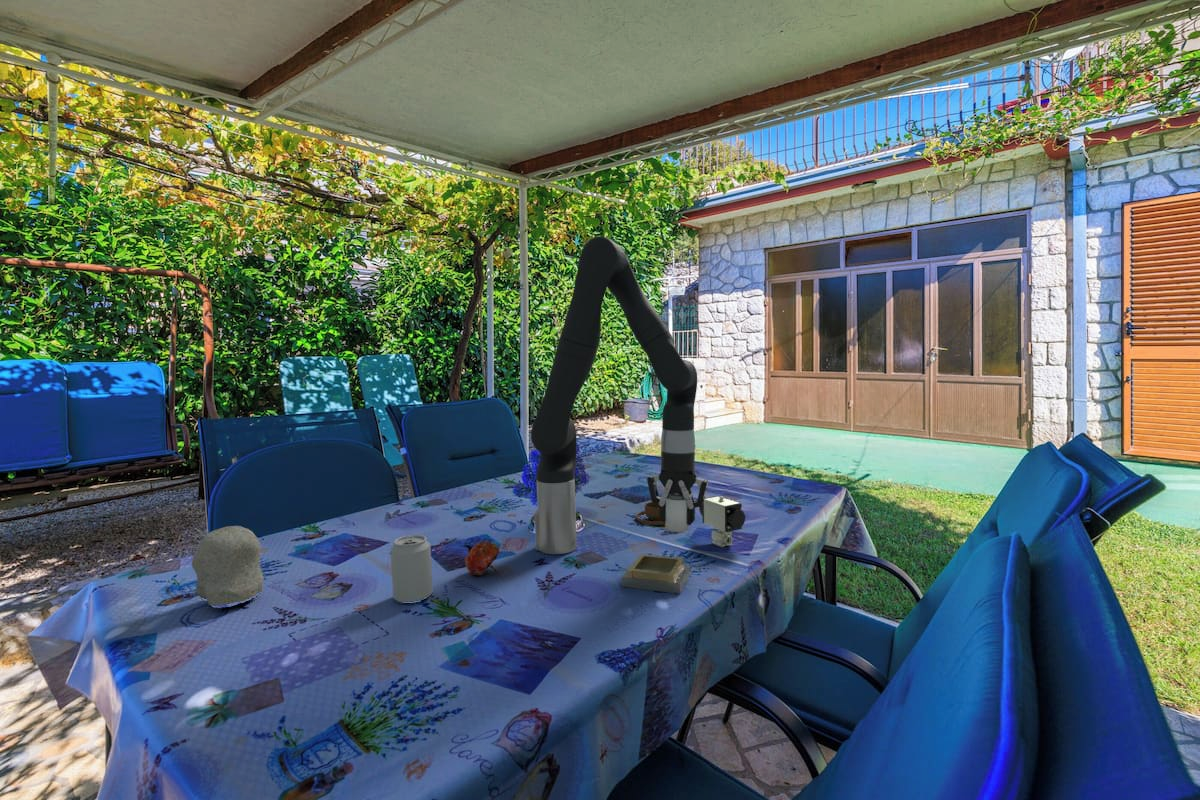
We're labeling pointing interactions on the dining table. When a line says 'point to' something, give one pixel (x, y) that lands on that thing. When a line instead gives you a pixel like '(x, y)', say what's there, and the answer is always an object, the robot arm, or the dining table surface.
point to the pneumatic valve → (722, 518)
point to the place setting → (651, 514)
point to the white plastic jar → (676, 513)
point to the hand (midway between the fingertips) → (677, 522)
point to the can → (411, 568)
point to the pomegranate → (481, 557)
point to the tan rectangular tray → (657, 574)
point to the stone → (228, 566)
